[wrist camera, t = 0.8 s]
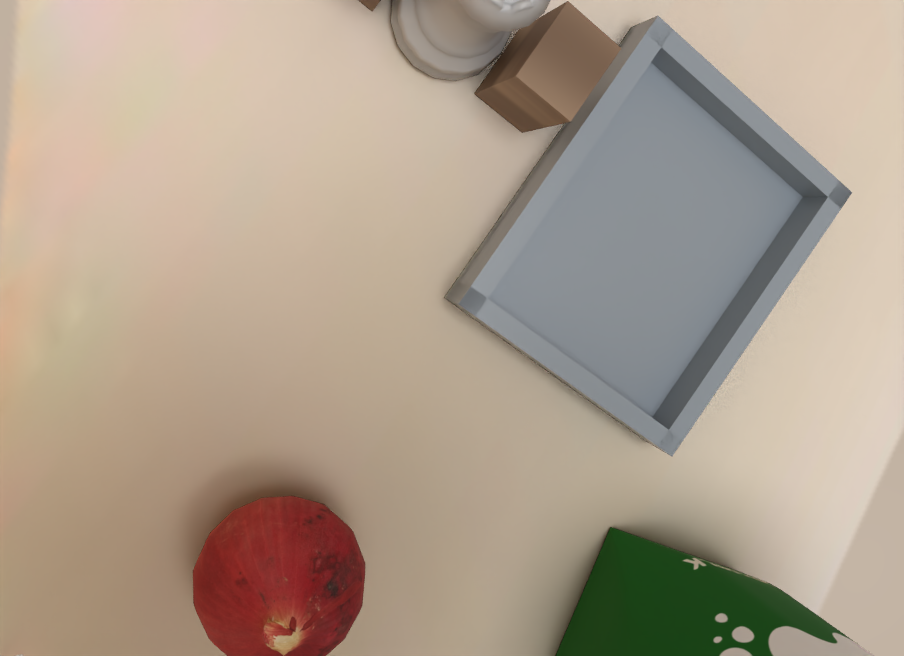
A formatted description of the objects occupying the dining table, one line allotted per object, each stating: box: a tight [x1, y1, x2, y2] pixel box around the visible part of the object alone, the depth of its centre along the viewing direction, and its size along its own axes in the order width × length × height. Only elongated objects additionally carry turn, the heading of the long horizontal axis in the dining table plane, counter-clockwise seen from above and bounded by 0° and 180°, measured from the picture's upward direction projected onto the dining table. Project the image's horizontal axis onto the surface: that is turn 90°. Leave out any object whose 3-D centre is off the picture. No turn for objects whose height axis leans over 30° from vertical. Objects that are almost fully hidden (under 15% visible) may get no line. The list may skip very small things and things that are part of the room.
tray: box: [444, 16, 852, 456], centre depth 34 cm, size 13×11×2 cm
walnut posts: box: [359, 0, 621, 133], centre depth 30 cm, size 3×10×5 cm, turn 54°
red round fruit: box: [193, 496, 365, 656], centre depth 30 cm, size 6×6×8 cm
